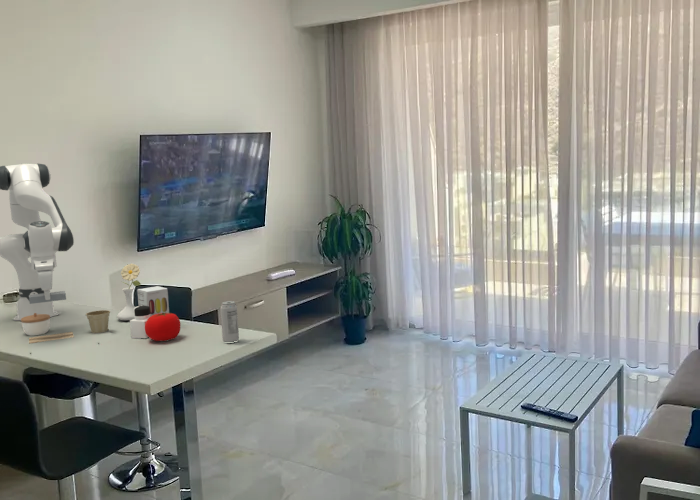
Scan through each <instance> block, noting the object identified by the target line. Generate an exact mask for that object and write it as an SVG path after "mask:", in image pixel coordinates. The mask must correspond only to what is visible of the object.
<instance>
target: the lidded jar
mask: <svg viewBox="0 0 700 500" xmlns="http://www.w3.org/2000/svg"><path fill="white" fill-rule="evenodd" d="M20 322H21V326H22V327H21V328H22V330H23V332H24V333H25V334H26V336H31V337H36V336H42V335H44V334H47V333H48V331H49V330H50V327H51V317H50V315H48V314H36V313H34V315H30V316H26V317H23V318H21V320H20Z"/></svg>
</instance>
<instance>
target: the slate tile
mask: <svg viewBox="0 0 700 500" xmlns="http://www.w3.org/2000/svg"><path fill="white" fill-rule="evenodd" d="M65 300H67V294H66V291H65V290H62V291H52V292H51V291H50V300H45V294H44V293H42V294H33V295H29V303H30V304H34V303H42V302H50V301H53V302H57V301H65Z"/></svg>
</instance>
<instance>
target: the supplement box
mask: <svg viewBox="0 0 700 500" xmlns="http://www.w3.org/2000/svg"><path fill="white" fill-rule="evenodd" d="M137 302H138V306H149V307H150V317H151V316H152V315H155V314H159V313H170V307H169V306H170V305H169V291H168V288H167V287H163V286H159V285H156V286H151V287H145V288H137Z"/></svg>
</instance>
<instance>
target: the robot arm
mask: <svg viewBox="0 0 700 500" xmlns="http://www.w3.org/2000/svg"><path fill="white" fill-rule="evenodd" d="M51 175H52V174H51V172H50V169H49V167H48V165H46V164H43V163H37V164H35V163H20V164H11V165H0V190H1V191H8V193H9V197H8V198H9V199H8V200H9V207H10V216H11V220H12V222H13V223H14V224H16V225H18V226H20V227H23V228H26V229H27V230H26V231H25V232H24V233H14V234H7V235H3V236H0V257H1V258H2V259H4V260H6V261H7V262H9V263H10V264H11V265H12V266H13V268H14V269H15V271H16V275H17V279H18V284H19V288H18V294H19V298H18V300H17V301H16V309H17V310H16V312H17V314H16V316H14V317H13V321H21V318H23V317H26V316H30V315H34V313H36V314H48V315H50V318H51V317H54V316H58V315H59V314H60V313H59V312H58V311H56V310H55V309H54V303H53V302H54V301H50V302H42V303H34V304H30V303H29V295H33V294H42V293H44V294H45V300H50V293H51V290H52V289H53V272H54V271H55V268H56V267H58V266H57V257H56V253H57V252H68V251H69V250H70V249H71V248H72V247H73V245H74V243H75V240H74V239H75V238H74V235H73V232H72V231H71V229H70V226H69V225H68V224H67V222H66V220H65V217H64V215H63V213H62V212H61V211H62V210H61V209H60V207H59V205H58V203H57V201H56V199H55V198H54V197H53V196H52V195H50V194H48V193H47V192H46V191H45V190H44V189H43V188H45V187H48V186H49V184H50V182H51V178H52V177H51ZM40 212H41V213H44V214H46V215H48V216H49V217H50V219H51V221H52V224H53V225H54V227H52V226H51V225H52V224H51V223H50V222H48V221H44V220H41V217H40ZM29 258H30V261H29Z"/></svg>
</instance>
